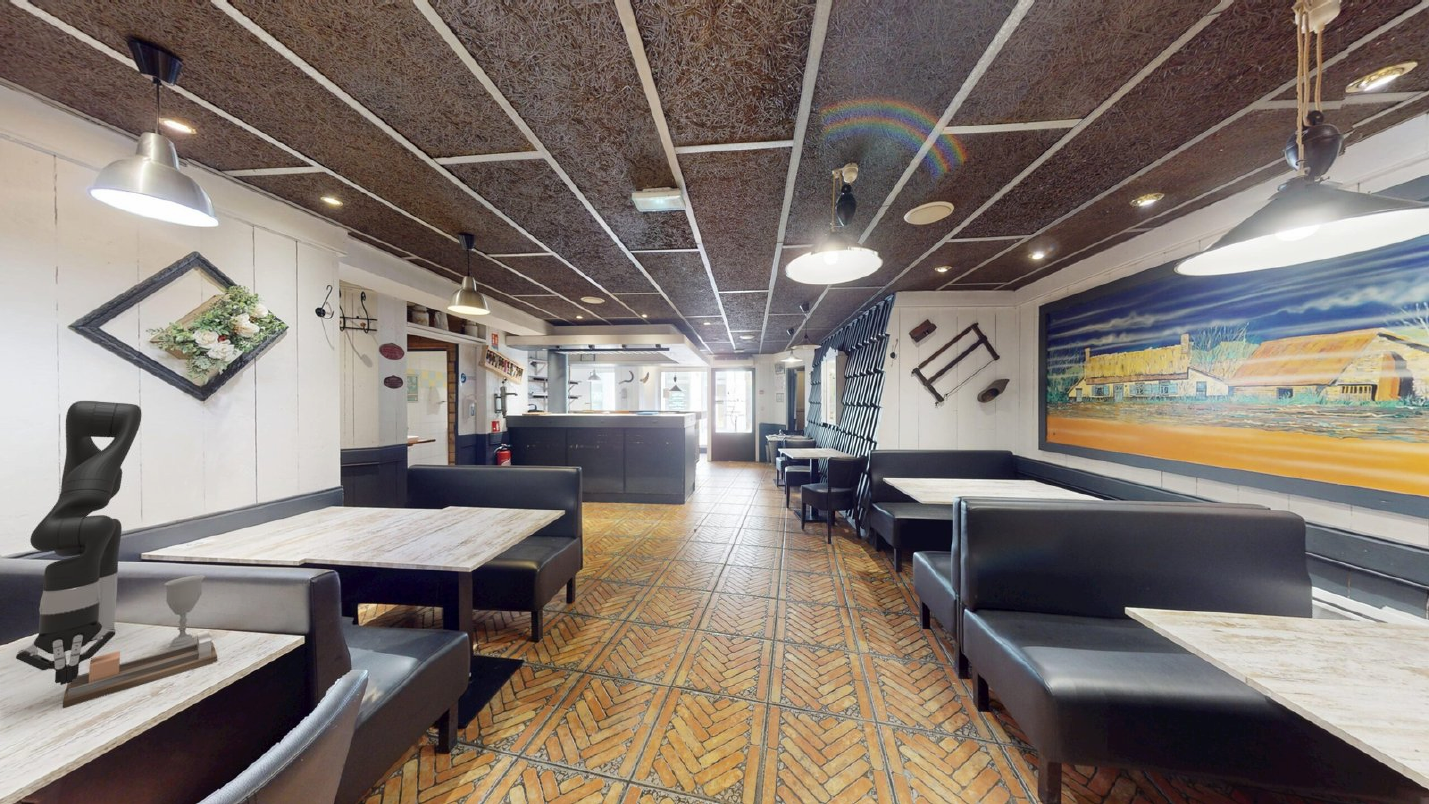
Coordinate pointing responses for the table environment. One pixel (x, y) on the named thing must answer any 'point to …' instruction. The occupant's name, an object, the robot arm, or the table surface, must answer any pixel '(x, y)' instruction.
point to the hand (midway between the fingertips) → (66, 682)
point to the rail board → (143, 671)
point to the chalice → (183, 605)
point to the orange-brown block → (104, 666)
